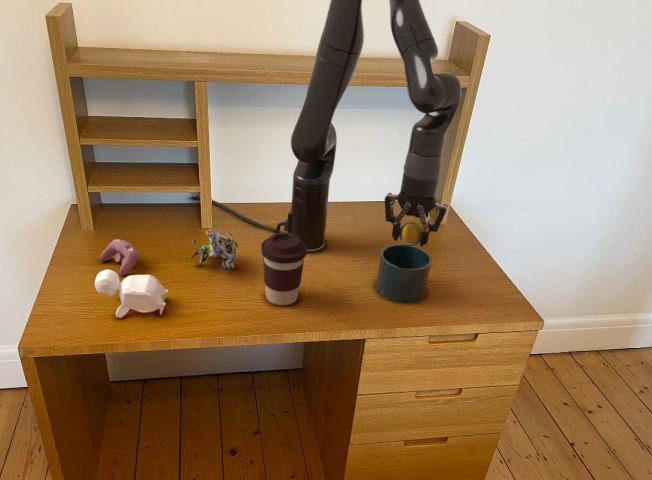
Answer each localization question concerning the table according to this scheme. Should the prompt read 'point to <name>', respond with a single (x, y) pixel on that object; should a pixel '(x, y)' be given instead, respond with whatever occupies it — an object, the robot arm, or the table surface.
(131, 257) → the video game controller
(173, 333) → the table surface
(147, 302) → the white turtle figurine
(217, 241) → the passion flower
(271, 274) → the coffee cup
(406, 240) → the spiral grooved cone
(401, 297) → the pen pot
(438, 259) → the table surface
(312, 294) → the table surface
